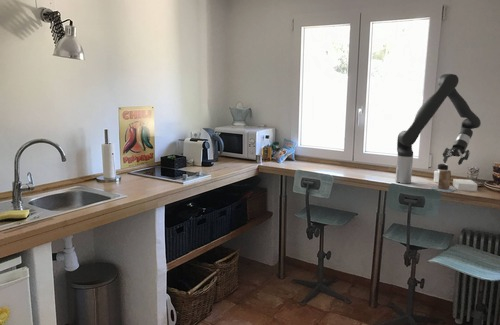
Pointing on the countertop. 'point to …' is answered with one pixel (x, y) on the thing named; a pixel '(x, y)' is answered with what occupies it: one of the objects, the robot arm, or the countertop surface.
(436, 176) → the medicine bottle
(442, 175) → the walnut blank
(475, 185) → the shelf riser
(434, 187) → the slate mat
